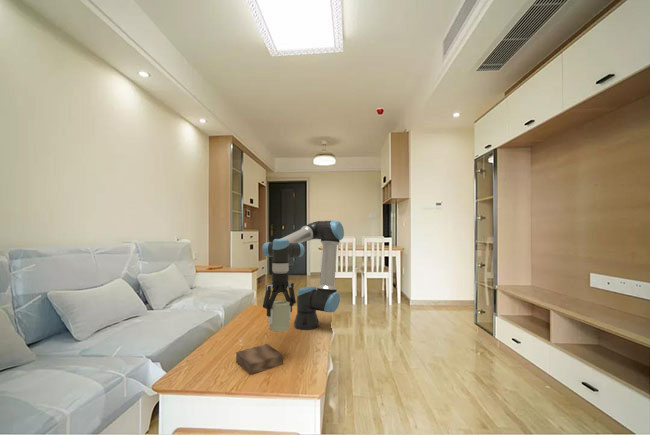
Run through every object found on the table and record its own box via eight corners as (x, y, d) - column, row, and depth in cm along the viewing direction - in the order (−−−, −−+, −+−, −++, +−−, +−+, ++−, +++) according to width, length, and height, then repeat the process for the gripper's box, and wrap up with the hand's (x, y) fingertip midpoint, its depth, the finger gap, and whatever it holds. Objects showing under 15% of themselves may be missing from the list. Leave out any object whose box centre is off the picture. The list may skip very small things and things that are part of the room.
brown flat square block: (266, 352, 132) (267, 343, 133) (283, 363, 121) (283, 354, 121) (236, 361, 123) (236, 351, 123) (250, 374, 111) (250, 364, 111)
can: (285, 332, 123) (286, 304, 124) (266, 330, 125) (266, 303, 126) (292, 325, 132) (292, 299, 133) (273, 324, 134) (274, 298, 135)
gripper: (295, 269, 140) (294, 315, 138) (255, 273, 126) (254, 324, 125) (303, 271, 134) (303, 319, 133) (263, 274, 120) (261, 328, 119)
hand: (279, 321), depth 129 cm, fingers closed on can, 9 cm apart
